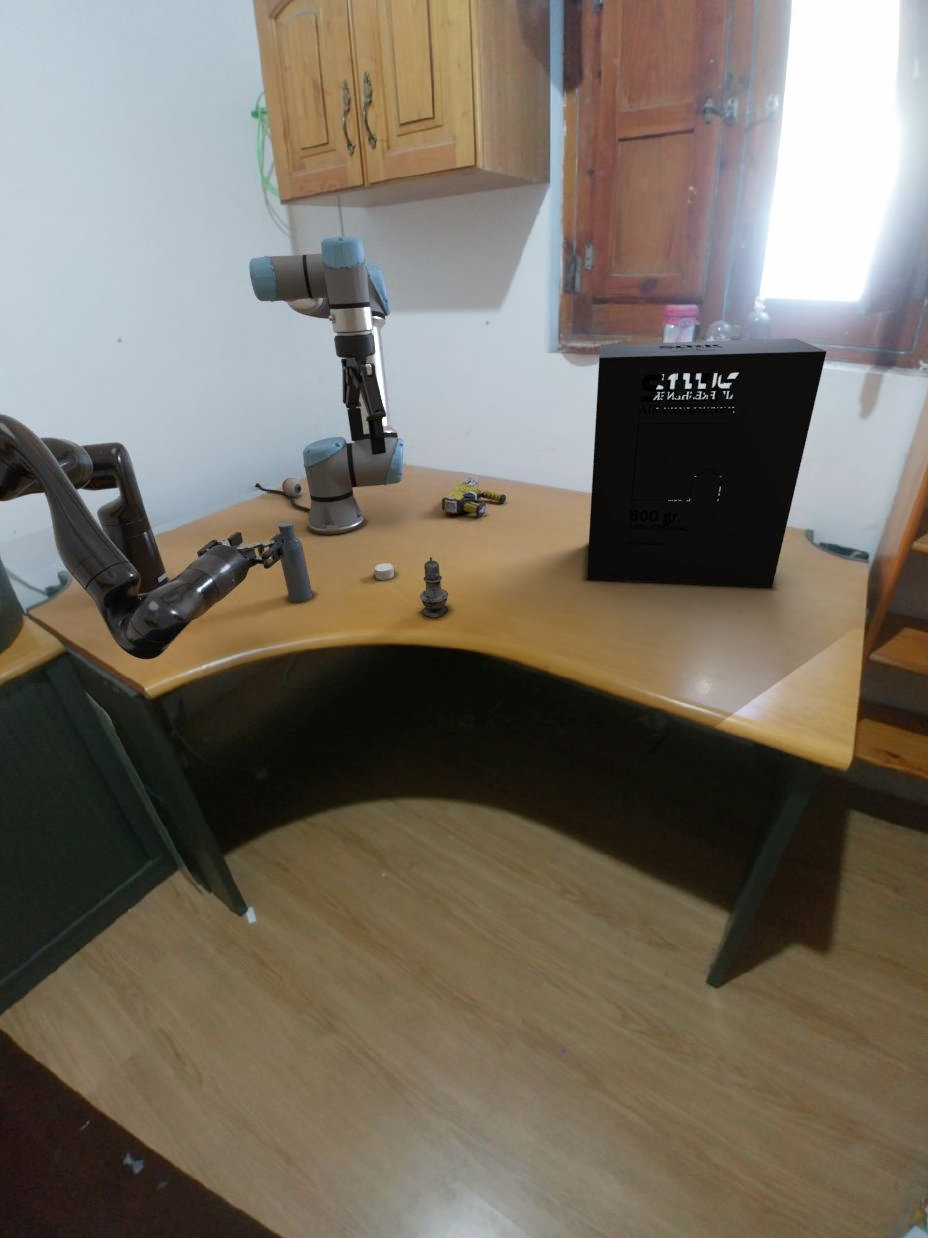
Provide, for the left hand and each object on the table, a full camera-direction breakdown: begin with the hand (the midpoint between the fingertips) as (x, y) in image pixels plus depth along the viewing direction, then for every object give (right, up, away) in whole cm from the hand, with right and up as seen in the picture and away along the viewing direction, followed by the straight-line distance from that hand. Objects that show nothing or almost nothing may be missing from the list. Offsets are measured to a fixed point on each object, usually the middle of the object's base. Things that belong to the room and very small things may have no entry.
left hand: (260, 537), depth 115 cm
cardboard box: (+86, -3, +22) cm, 89 cm away
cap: (+20, -4, +24) cm, 31 cm away
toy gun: (+43, +18, +64) cm, 79 cm away
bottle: (+3, -11, +18) cm, 21 cm away
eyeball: (-16, +24, +79) cm, 84 cm away
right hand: (+19, +20, +10) cm, 29 cm away
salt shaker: (+33, -14, +9) cm, 37 cm away
